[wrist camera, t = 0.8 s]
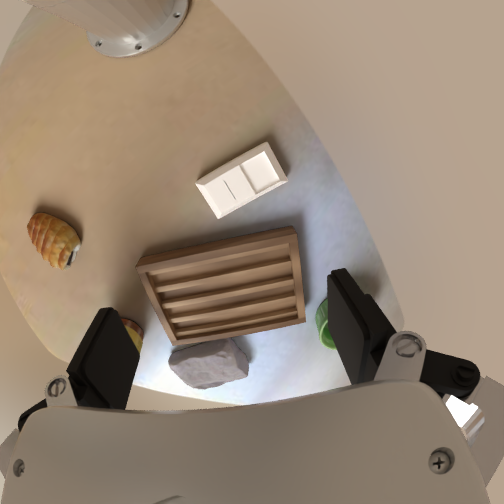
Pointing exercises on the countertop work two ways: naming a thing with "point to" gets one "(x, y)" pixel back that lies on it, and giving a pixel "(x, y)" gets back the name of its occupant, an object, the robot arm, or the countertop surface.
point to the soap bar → (241, 180)
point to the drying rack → (226, 286)
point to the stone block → (210, 363)
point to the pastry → (54, 239)
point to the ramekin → (324, 326)
